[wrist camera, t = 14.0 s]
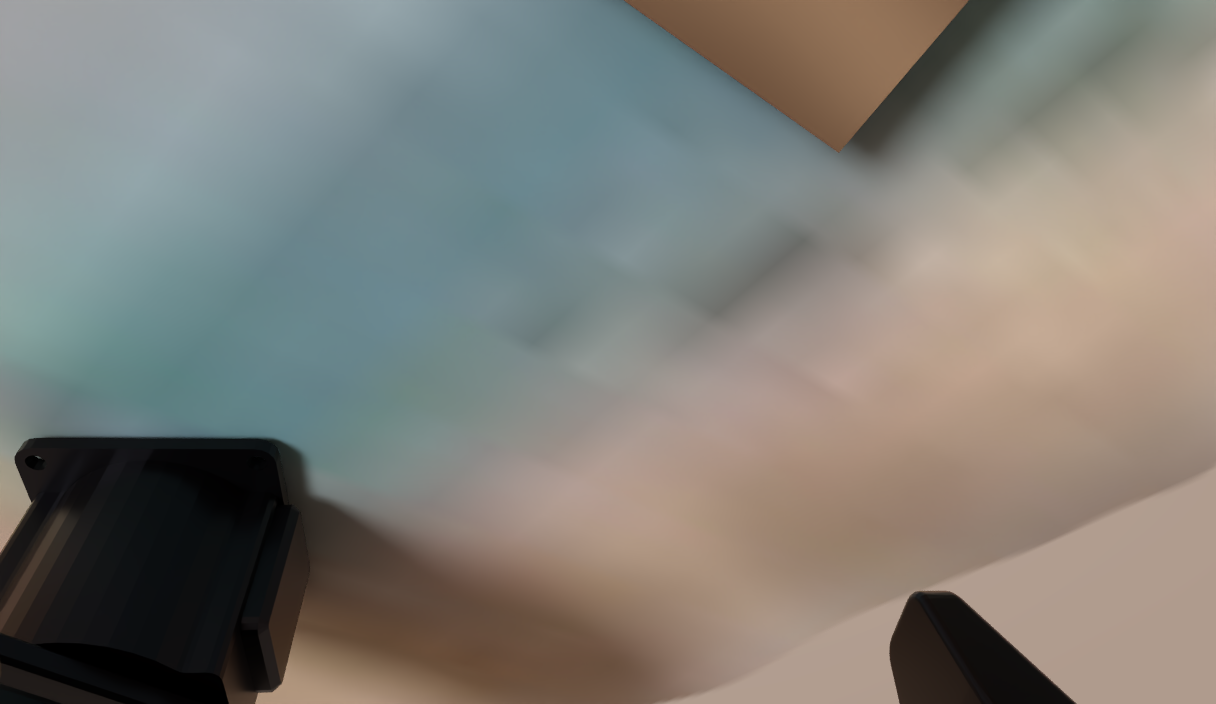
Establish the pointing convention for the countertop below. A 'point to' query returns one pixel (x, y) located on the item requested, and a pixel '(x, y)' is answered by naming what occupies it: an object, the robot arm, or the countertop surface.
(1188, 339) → the countertop surface
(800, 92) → the walnut board
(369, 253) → the countertop surface
